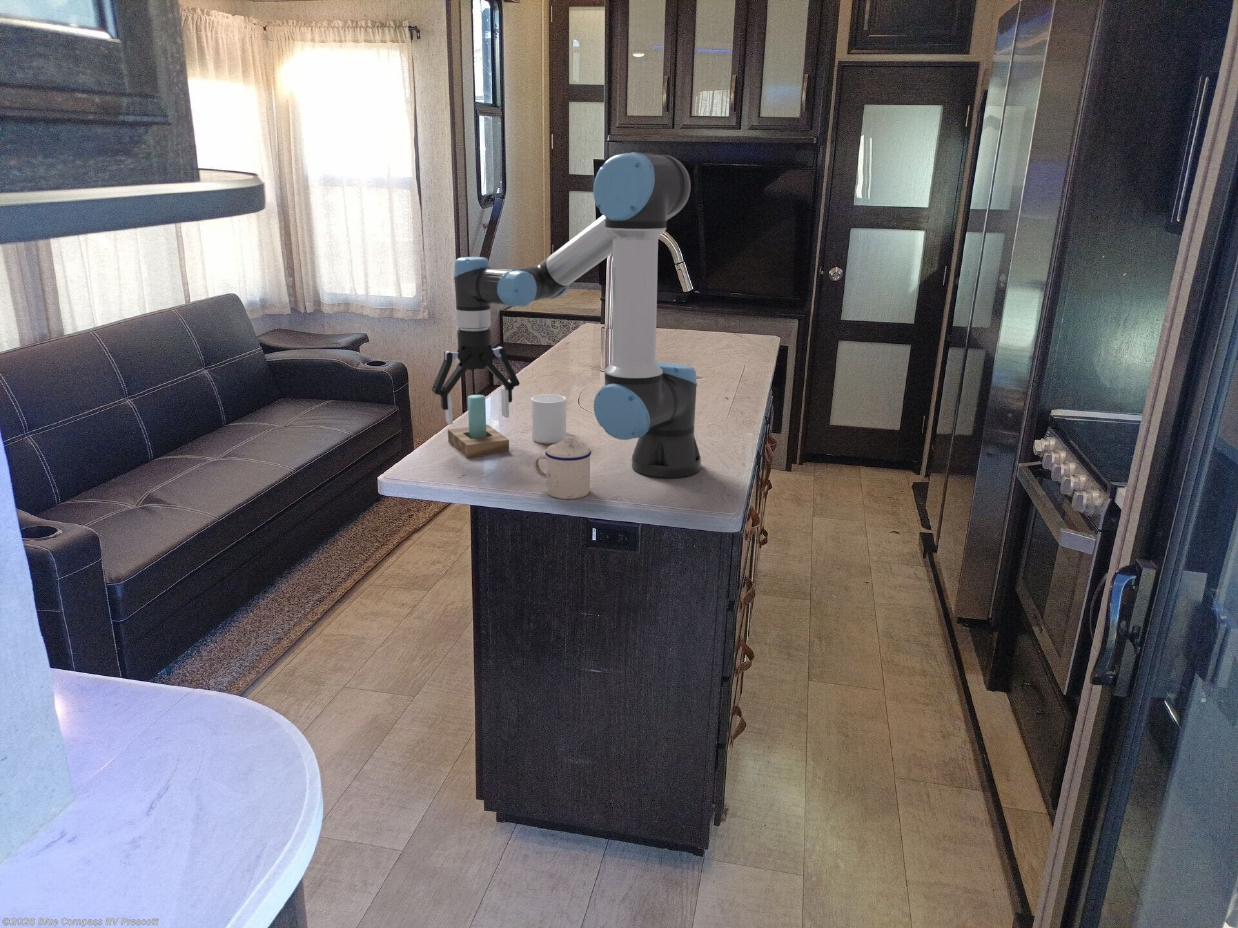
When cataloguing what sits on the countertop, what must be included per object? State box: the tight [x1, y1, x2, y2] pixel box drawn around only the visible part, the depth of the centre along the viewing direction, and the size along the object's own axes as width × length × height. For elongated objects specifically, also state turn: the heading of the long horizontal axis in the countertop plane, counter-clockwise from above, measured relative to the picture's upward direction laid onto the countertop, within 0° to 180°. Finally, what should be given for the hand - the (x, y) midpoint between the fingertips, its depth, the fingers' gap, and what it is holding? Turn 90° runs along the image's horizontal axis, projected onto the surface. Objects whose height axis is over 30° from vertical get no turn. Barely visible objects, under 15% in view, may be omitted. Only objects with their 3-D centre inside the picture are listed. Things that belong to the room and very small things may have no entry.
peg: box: [467, 394, 487, 439], centre depth 203 cm, size 4×4×12 cm
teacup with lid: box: [533, 435, 592, 500], centre depth 175 cm, size 12×9×12 cm
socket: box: [447, 424, 510, 459], centre depth 204 cm, size 14×10×3 cm
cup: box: [530, 393, 567, 445], centre depth 212 cm, size 8×12×10 cm
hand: (477, 419), depth 202 cm, fingers open, 13 cm apart
